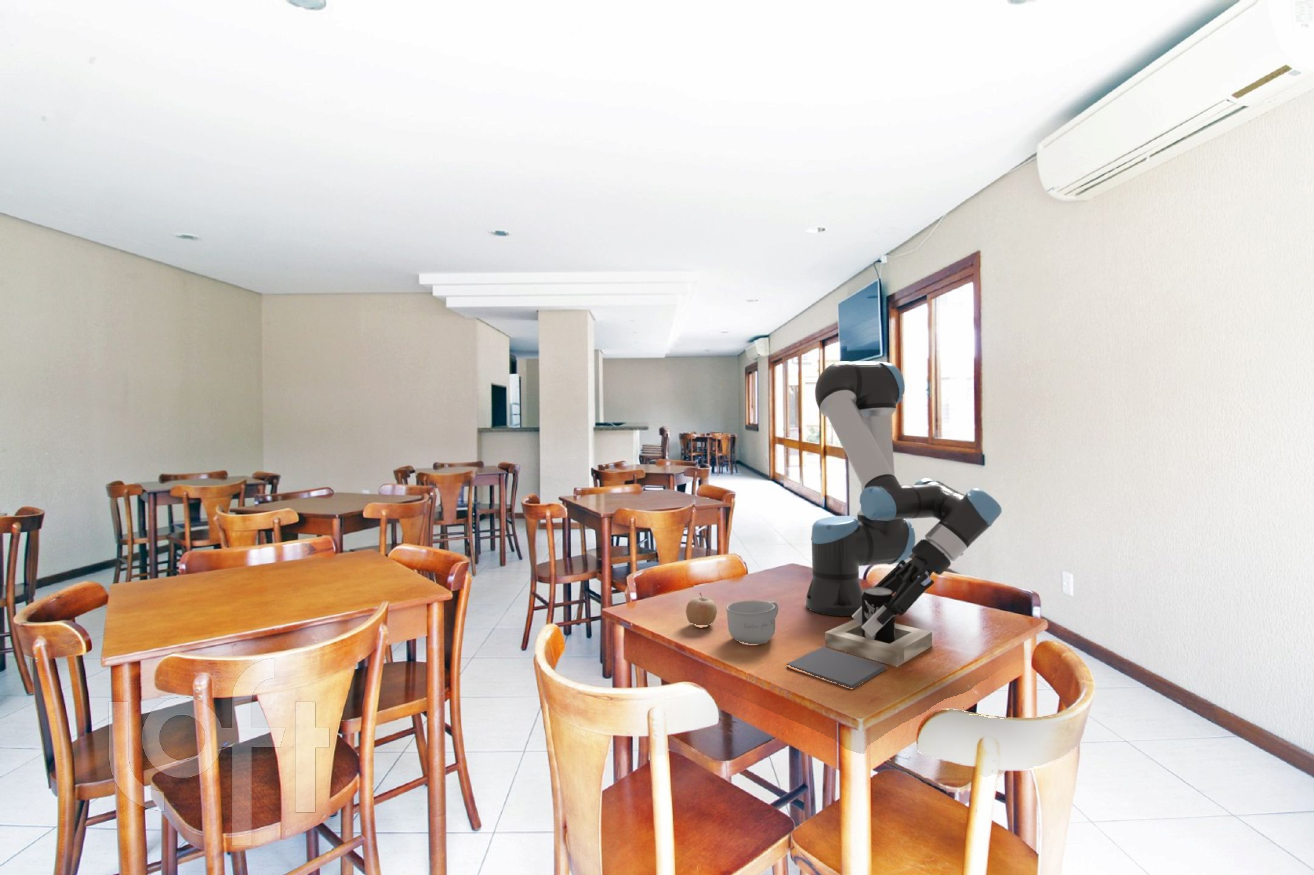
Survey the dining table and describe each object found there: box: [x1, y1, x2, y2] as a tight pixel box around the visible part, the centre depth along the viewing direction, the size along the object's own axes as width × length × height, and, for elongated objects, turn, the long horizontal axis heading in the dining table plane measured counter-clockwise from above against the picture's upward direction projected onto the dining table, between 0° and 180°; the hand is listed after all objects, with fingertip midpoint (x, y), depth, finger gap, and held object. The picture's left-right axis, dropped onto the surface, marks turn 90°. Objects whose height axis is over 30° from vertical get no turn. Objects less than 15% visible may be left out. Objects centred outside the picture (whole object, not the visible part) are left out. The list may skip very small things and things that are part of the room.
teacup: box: [725, 600, 779, 645], centre depth 134 cm, size 14×11×8 cm
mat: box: [786, 646, 887, 689], centre depth 117 cm, size 14×13×1 cm
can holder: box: [824, 618, 933, 668], centre depth 129 cm, size 16×16×3 cm
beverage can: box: [862, 586, 896, 644], centre depth 128 cm, size 7×7×12 cm
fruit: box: [685, 592, 718, 625], centre depth 144 cm, size 8×7×8 cm
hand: (861, 626), depth 129 cm, fingers closed on beverage can, 6 cm apart
